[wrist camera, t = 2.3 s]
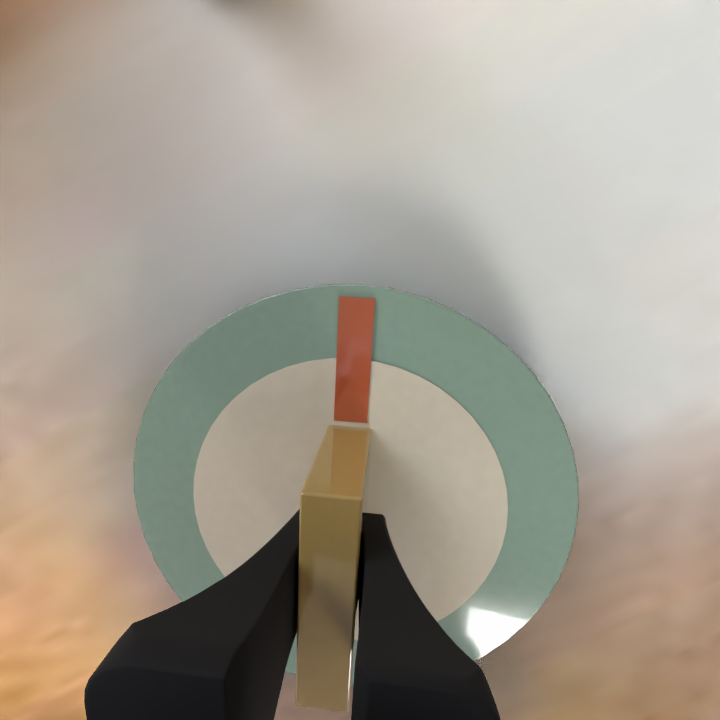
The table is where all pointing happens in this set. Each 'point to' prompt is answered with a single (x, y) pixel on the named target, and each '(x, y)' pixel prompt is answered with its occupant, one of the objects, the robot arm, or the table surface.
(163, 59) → the table surface
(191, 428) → the dial knob
